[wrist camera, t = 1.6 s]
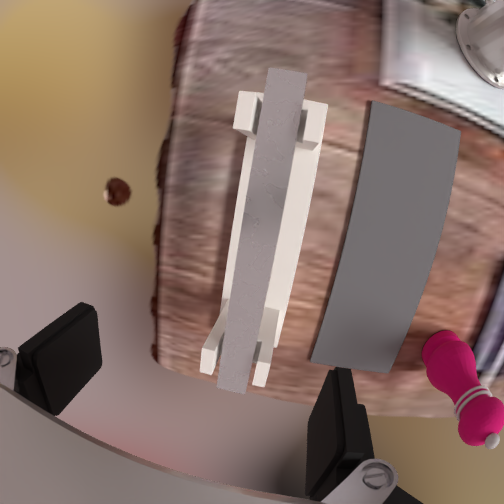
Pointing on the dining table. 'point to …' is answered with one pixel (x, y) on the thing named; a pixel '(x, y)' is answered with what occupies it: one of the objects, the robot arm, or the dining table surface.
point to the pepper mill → (463, 389)
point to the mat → (388, 239)
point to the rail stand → (288, 235)
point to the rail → (261, 223)
